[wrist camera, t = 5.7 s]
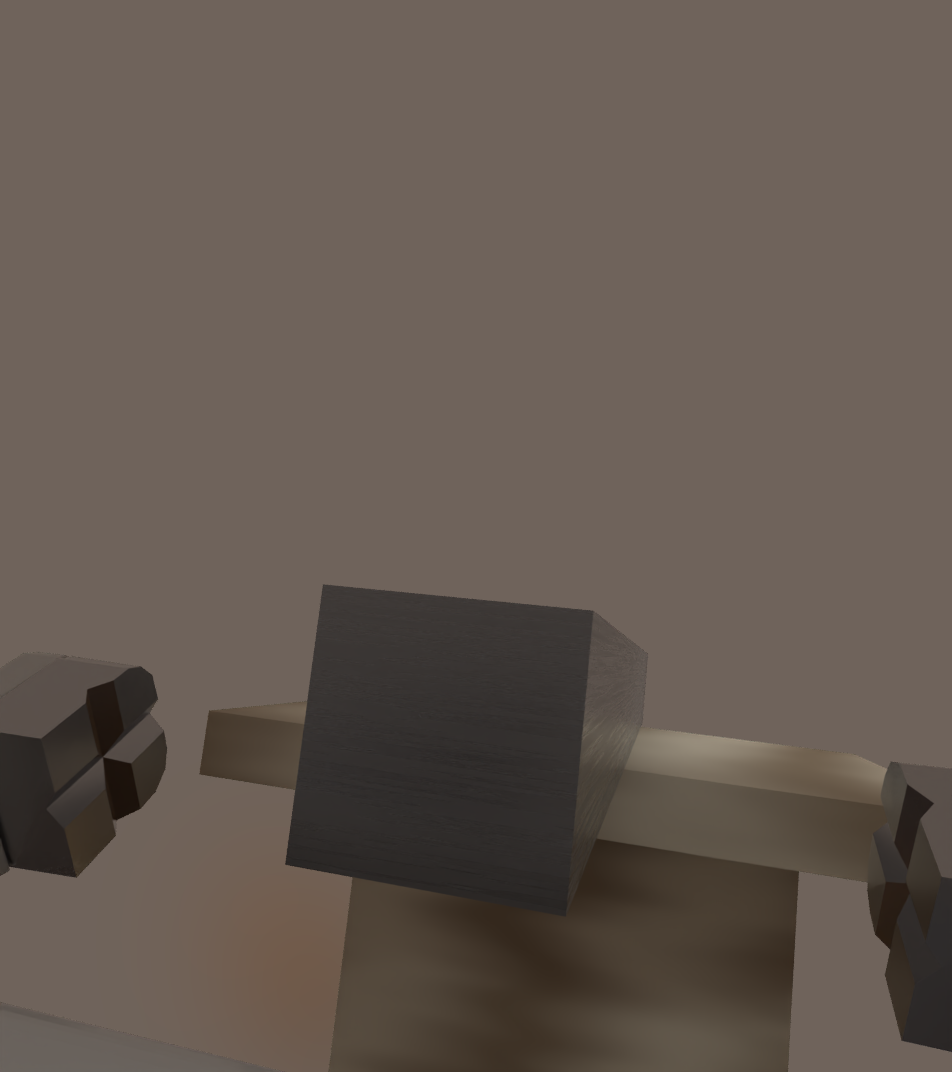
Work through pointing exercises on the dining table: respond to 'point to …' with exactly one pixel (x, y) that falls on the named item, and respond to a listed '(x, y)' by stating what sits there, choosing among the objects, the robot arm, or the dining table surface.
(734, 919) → the shelf stand
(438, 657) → the bar
